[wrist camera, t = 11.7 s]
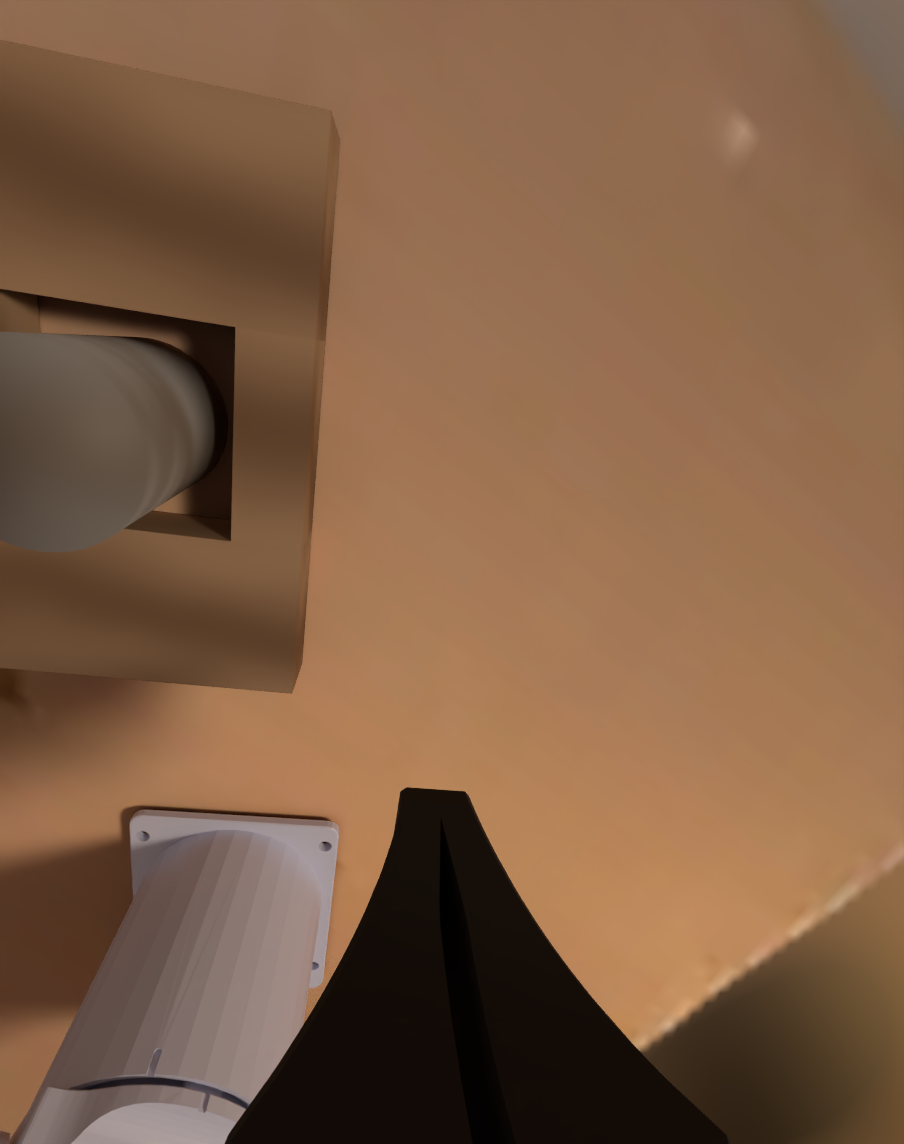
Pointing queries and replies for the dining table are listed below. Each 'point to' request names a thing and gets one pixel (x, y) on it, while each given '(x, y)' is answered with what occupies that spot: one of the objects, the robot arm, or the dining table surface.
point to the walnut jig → (158, 371)
